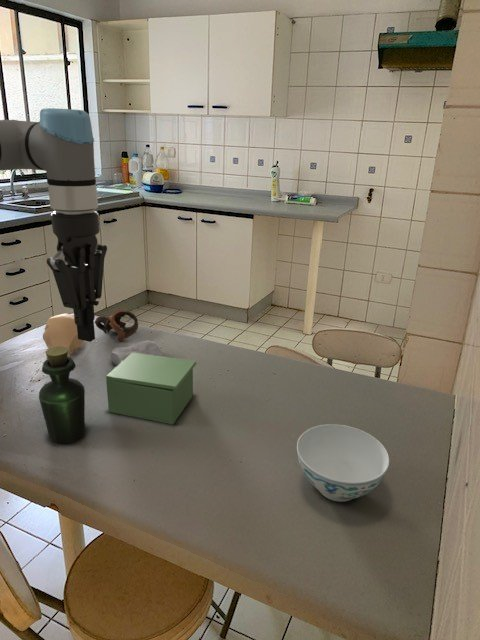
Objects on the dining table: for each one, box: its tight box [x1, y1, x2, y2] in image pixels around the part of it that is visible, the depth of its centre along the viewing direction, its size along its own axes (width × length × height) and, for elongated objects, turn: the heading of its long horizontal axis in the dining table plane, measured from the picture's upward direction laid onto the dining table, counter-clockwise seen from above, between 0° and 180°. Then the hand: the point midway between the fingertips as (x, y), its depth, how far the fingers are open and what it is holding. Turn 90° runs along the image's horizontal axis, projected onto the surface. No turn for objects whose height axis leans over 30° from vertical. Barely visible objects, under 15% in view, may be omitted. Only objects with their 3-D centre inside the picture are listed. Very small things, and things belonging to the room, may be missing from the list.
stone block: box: [110, 339, 165, 367], centre depth 118 cm, size 12×5×10 cm
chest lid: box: [105, 353, 197, 390], centre depth 98 cm, size 15×12×1 cm
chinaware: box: [296, 423, 390, 502], centre depth 78 cm, size 15×15×8 cm
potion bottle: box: [38, 346, 86, 444], centre depth 87 cm, size 8×8×18 cm
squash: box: [42, 313, 85, 360], centre depth 121 cm, size 11×20×9 cm, turn 15°
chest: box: [105, 368, 194, 425], centre depth 100 cm, size 15×12×8 cm
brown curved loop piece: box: [94, 309, 139, 342], centre depth 133 cm, size 12×10×8 cm
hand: (86, 338), depth 86 cm, fingers closed
